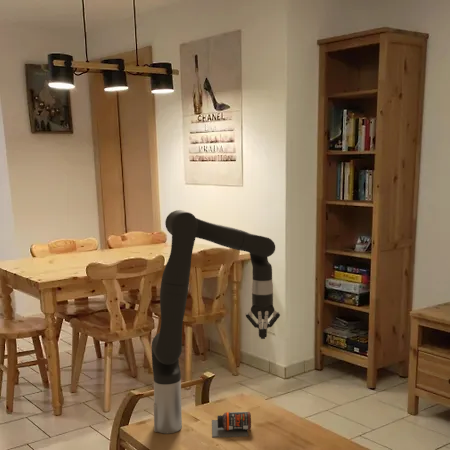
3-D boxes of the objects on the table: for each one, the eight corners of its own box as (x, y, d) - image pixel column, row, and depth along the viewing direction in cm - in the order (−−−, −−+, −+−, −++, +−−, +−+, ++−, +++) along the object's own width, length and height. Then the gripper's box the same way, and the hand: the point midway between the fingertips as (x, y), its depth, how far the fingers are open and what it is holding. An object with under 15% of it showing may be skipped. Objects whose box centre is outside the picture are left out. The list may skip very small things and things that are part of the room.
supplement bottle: (251, 426, 186) (217, 427, 186) (250, 432, 191) (217, 433, 191) (250, 408, 190) (217, 410, 190) (249, 415, 195) (217, 416, 194)
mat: (212, 437, 186) (212, 436, 186) (211, 421, 198) (211, 420, 198) (248, 436, 187) (248, 435, 187) (245, 420, 198) (245, 419, 198)
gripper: (244, 294, 198) (245, 342, 200) (282, 293, 198) (282, 341, 200) (243, 289, 205) (243, 335, 207) (279, 288, 206) (279, 334, 208)
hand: (262, 338), depth 204 cm, fingers closed
